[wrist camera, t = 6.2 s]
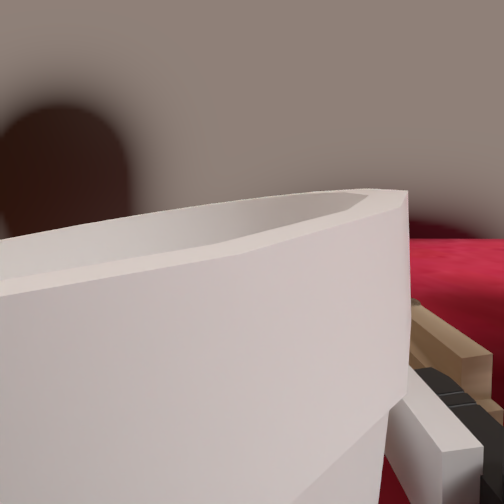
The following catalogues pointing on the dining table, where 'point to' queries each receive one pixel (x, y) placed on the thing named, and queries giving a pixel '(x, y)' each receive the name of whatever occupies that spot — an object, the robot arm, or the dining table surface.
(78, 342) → the foam cup
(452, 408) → the robot arm
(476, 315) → the dining table surface
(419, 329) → the cradle
